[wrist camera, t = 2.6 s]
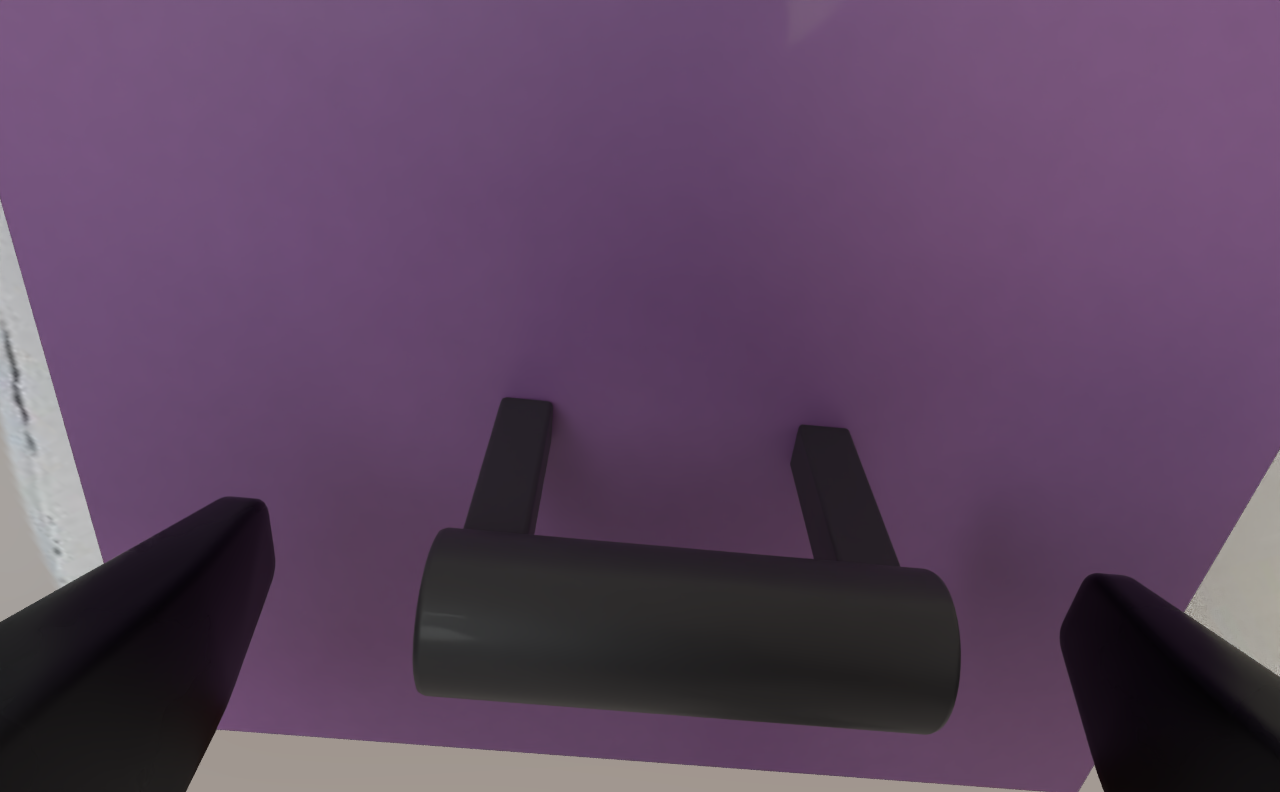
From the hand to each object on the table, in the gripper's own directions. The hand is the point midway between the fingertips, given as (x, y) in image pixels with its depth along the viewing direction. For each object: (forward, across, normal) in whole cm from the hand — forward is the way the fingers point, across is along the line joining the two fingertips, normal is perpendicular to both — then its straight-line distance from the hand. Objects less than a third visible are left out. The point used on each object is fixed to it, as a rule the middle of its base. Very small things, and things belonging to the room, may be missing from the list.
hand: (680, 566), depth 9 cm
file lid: (+3, 0, 0) cm, 3 cm away
